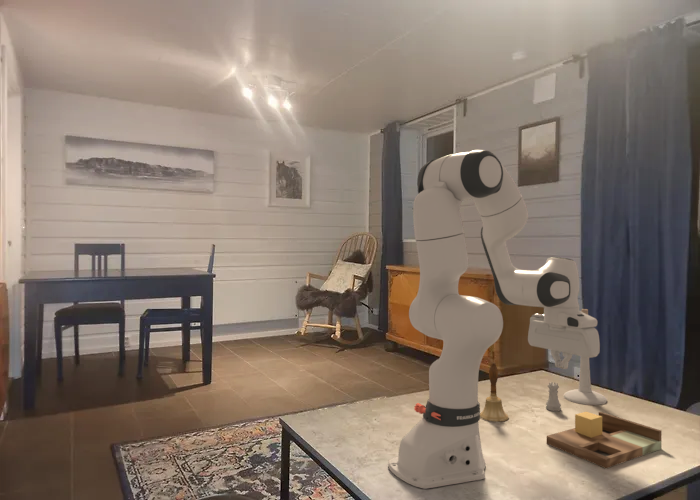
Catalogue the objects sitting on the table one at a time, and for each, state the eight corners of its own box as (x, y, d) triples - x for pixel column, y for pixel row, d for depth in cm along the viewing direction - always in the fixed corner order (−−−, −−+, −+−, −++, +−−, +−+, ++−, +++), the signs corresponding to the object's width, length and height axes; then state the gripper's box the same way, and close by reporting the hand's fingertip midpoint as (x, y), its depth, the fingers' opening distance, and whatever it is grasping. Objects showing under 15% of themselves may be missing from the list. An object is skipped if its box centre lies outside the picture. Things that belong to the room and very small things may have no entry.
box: (606, 468, 109) (606, 448, 109) (546, 443, 123) (546, 426, 123) (661, 448, 120) (661, 430, 120) (600, 428, 134) (600, 411, 134)
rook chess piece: (562, 412, 147) (562, 385, 147) (547, 411, 148) (547, 385, 148) (559, 407, 151) (559, 381, 151) (544, 406, 152) (544, 381, 152)
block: (591, 437, 122) (591, 419, 122) (575, 431, 126) (575, 414, 126) (602, 434, 124) (602, 416, 124) (586, 428, 128) (586, 411, 128)
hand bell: (473, 415, 145) (473, 361, 145) (493, 410, 149) (493, 358, 149) (494, 424, 137) (494, 367, 137) (514, 418, 141) (514, 364, 141)
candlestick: (559, 392, 167) (558, 305, 167) (598, 393, 166) (598, 305, 166) (570, 404, 155) (570, 310, 155) (613, 405, 153) (613, 310, 153)
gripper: (522, 313, 140) (522, 361, 140) (587, 322, 122) (587, 377, 122) (537, 312, 143) (538, 359, 143) (603, 320, 125) (603, 374, 125)
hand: (561, 367), depth 132 cm, fingers closed
